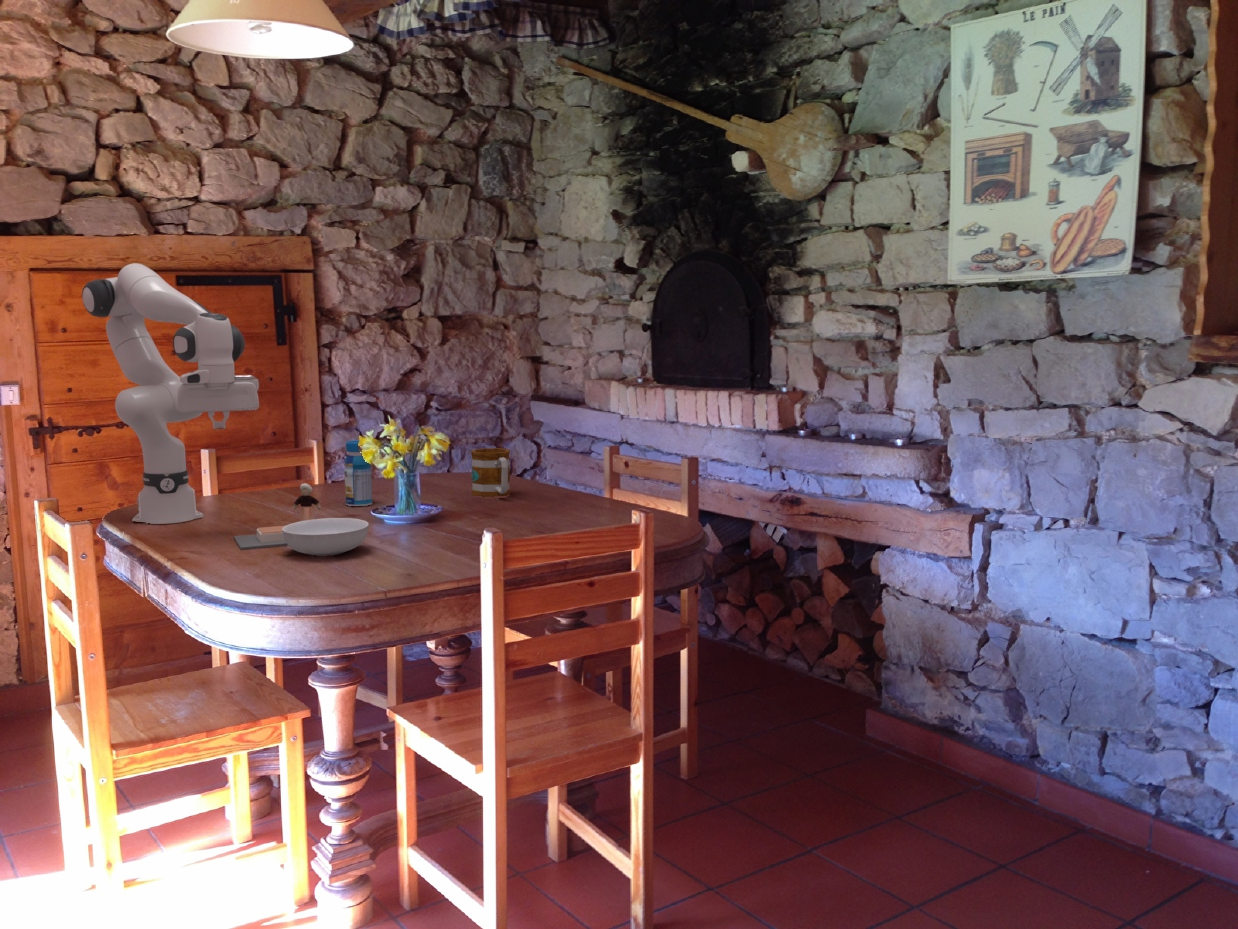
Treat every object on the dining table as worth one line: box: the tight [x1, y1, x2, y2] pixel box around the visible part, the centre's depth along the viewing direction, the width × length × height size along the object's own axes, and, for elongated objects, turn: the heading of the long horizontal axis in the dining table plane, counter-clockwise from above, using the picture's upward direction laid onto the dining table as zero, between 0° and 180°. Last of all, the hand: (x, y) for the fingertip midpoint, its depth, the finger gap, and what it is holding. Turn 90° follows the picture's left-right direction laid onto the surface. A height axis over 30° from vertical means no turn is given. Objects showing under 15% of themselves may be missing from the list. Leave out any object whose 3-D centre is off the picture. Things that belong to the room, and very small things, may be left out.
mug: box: [470, 447, 511, 497], centre depth 338 cm, size 20×14×15 cm
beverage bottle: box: [343, 439, 373, 507], centre depth 323 cm, size 8×8×20 cm
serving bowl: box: [282, 517, 370, 557], centre depth 260 cm, size 21×21×7 cm
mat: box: [233, 533, 290, 551], centre depth 272 cm, size 15×16×1 cm
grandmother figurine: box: [292, 482, 322, 522], centre depth 288 cm, size 8×4×13 cm, turn 105°
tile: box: [255, 525, 285, 543], centre depth 273 cm, size 8×2×10 cm
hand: (219, 428), depth 272 cm, fingers closed
